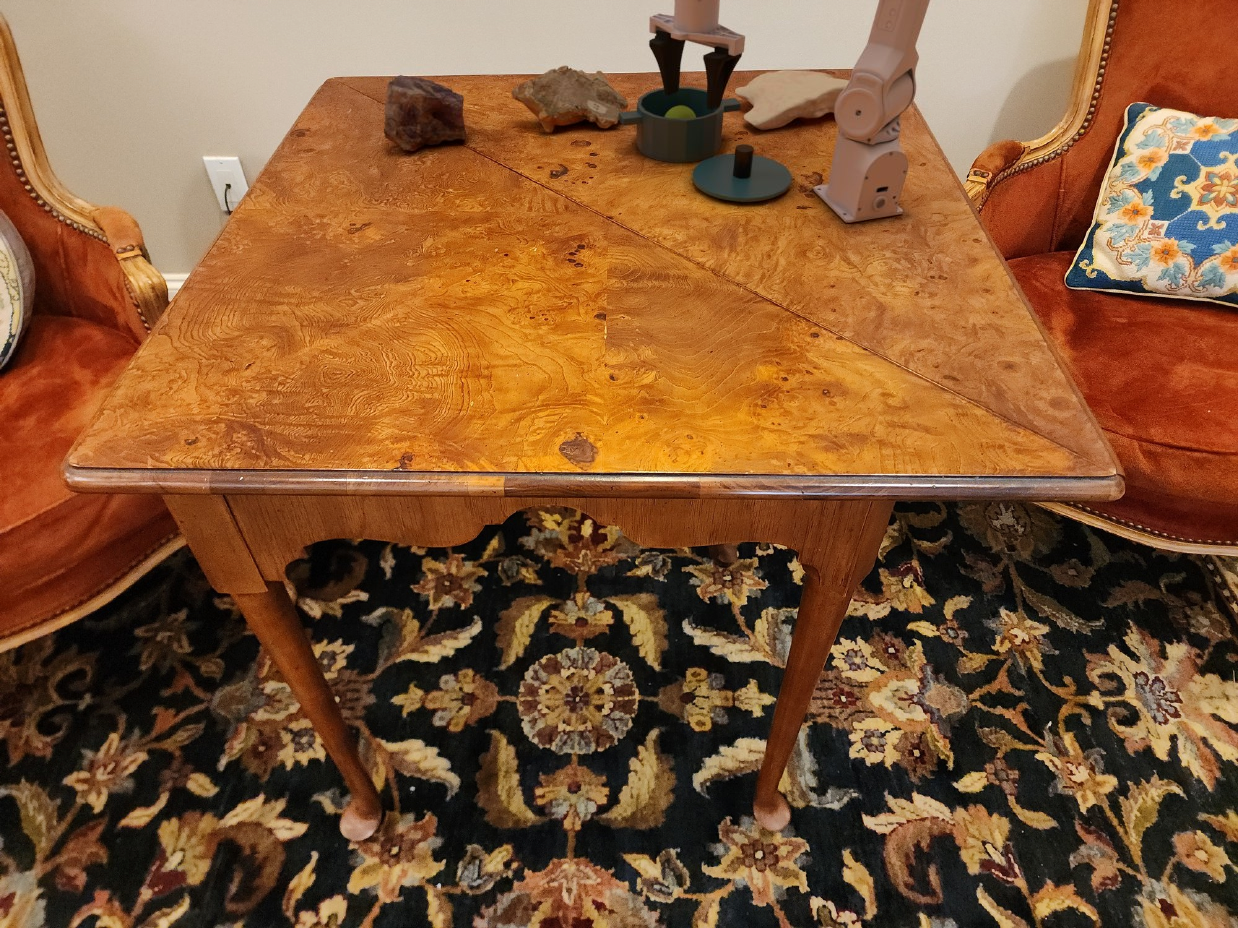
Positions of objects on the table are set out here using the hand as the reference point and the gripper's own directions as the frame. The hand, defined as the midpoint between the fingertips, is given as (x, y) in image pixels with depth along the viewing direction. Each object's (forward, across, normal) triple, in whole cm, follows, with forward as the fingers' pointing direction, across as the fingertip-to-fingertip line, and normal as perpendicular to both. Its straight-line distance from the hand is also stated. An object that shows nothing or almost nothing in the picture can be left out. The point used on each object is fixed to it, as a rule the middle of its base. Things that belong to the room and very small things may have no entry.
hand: (692, 100), depth 104 cm
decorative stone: (+7, +2, +23) cm, 24 cm away
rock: (+7, -31, -23) cm, 40 cm away
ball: (+4, -2, 0) cm, 5 cm away
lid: (+6, +12, -3) cm, 14 cm away
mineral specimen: (+7, -20, -4) cm, 22 cm away
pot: (+7, -3, +1) cm, 7 cm away
